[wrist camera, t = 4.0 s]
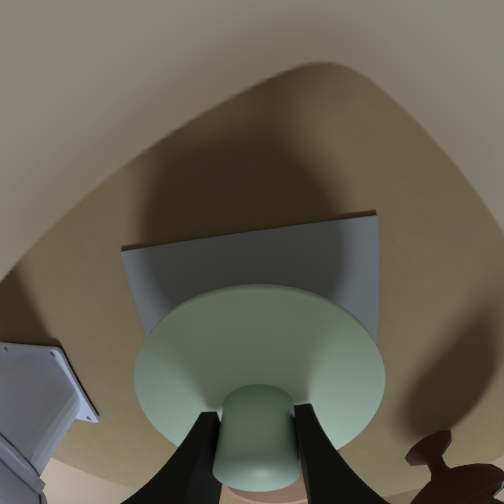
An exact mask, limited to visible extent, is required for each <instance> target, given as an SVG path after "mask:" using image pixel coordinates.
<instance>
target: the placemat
mask: <svg viewBox="0 0 504 504" xmlns="http://www.w3.org/2000/svg"><path fill="white" fill-rule="evenodd" d="M120 253H121V257H122V261H123V265H124V268H125V272H126V276H127V279H128V283H129V286H130V289H131V293H132V296H133V299H134V302H135V306H136V309H137V312H138V315H139V318H140V321H141V324H142V327H143V329H144V332H145V335H146V338H147V336H148V335H149V333H150V332H151V330H152V329H153V328H154V327H155V325H156V324H157V323H158V321H159V320H161V319H162V318H163V317H164V316H165V315H166V314H167V313H168V312H169V311H171V310H172V309H174V308H175V307H177V306H178V305H180V304H181V303H183V302H185V301H187V300H189V299H191V298H193V297H195V296H197V295H199V294H203V293H206V292H209V291H212V290H215V289H219V288H224V287H230V286H235V285H247V284H272V285H282V286H288V287H294V288H299V289H302V290H306V291H309V292H313V293H316V294H318V295H320V296H323V297H325V298H327V299H330V300H332V301H334V302H335V303H337V304H338V305H340V306H342V307H343V308H345V309H346V310H348V311H349V312H350V313H351V314H352V315H354V316H355V317H356V318H357V319H358V320H359V321H360V322H361V323H362V325H363V326H364V327H365V328H366V329H367V331H368V332H369V334H370V336H371V338H372V339H373V341H374V343H375V345H376V346H377V339H378V324H379V300H380V244H379V220H378V215H371V216H363V217H354V218H346V219H338V220H330V221H323V222H315V223H307V224H300V225H292V226H285V227H277V228H270V229H263V230H256V231H249V232H242V233H235V234H228V235H221V236H214V237H208V238H201V239H194V240H188V241H181V242H175V243H168V244H162V245H156V246H150V247H143V248H137V249H131V250H125V251H121V252H120Z"/></svg>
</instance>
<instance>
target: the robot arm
mask: <svg viewBox="0 0 504 504" xmlns="http://www.w3.org/2000/svg"><path fill="white" fill-rule="evenodd" d="M0 352H1V354H0V504H47V500H46V496H45V495H44V493H43V492H42V490H43V489H44V487H45V485H46V484H45V483H44V482H43V481H42V480H41V479H40V478H39V477H40V475H41V473H42V472H43V470H44V469H45V467H46V465H47V463H48V462H49V460H50V458H51V457H52V455H53V453H54V452H55V450H56V448H57V447H58V445H59V443H60V442H61V440H62V439H63V437H64V435H65V434H66V432H67V430H68V429H69V427H70V426H71V424H72V423H73V421H74V419H79V420H84V421H89V422H95V423H97V422H99V420H100V418H99V416H98V415H97V413H96V412H95V410H94V408H93V407H92V405H91V404H90V402H89V400H88V399H87V397H86V395H85V393H84V392H83V390H82V388H81V386H80V385H79V383H78V381H77V379H76V377H75V375H74V373H73V371H72V370H71V368H70V366H69V364H68V362H67V360H66V358H65V356H64V353H63V352H62V350H61V349H60V348H58V347H51V346H37V345H25V344H15V343H6V342H0ZM294 414H295V424H296V433H297V440H298V449H299V460H300V465H301V470H302V475H303V480H304V484H305V489H306V494H307V499H308V504H390V503H388V502H387V501H385V500H384V499H383V498H382V497H380V496H379V495H378V494H377V493H376V492H374V491H373V490H372V489H371V488H370V487H369V486H368V485H366V484H365V483H364V482H363V481H362V480H361V479H360V478H359V477H358V476H357V475H356V473H355V472H354V471H353V470H352V469H351V468H350V467H349V466H348V464H347V463H346V462H345V461H344V459H343V458H342V457H341V456H340V454H339V453H338V452H337V450H336V449H335V447H334V446H333V444H332V443H331V441H330V440H329V438H328V437H327V435H326V433H325V432H324V430H323V428H322V426H321V424H320V423H319V421H318V419H317V416H316V414H315V412H314V409H313V406H312V404H310V403H306V404H299V405H294ZM220 423H221V422H220V419H219V416H218V414H217V411H211V412H201V413H200V415H199V416H198V418H197V420H196V421H195V423H194V425H193V426H192V428H191V430H190V431H189V433H188V434H187V436H186V437H185V439H184V440H183V442H182V443H181V444H180V446H179V447H178V449H177V450H176V451H175V453H174V454H173V455H172V456H171V458H170V459H169V460H168V461H167V463H166V464H165V465H164V466H163V467H162V468H161V470H160V471H159V472H158V473H157V474H156V475H155V476H154V477H153V478H152V479H151V480H150V481H149V482H148V483H147V484H145V485H144V486H143V487H142V488H141V489H140V490H138V491H137V492H136V493H135V494H134V495H132V496H131V497H130V498H128V499H127V500H125V501H124V502H122V503H121V504H219V500H220V495H221V489H222V484H223V483H221V482H220V481H218V480H217V479H216V478H215V476H214V475H213V466H214V459H215V453H216V447H217V441H218V435H219V429H220Z"/></svg>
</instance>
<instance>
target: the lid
mask: <svg viewBox="0 0 504 504" xmlns="http://www.w3.org/2000/svg"><path fill="white" fill-rule="evenodd" d="M134 387H135V391H136V395H137V399H138V401H139V403H140V406H141V408H142V410H143V411H144V413H145V415H146V416H147V418H148V419H149V421H150V422H151V423H152V424H153V425H154V427H155V428H156V429H157V430H158V431H159V432H160V433H161V434H162V435H163V436H165V437H166V438H167V439H168V440H170V441H171V442H172V443H174V444H175V445H177V446H178V447H179V446H180V444H181V443H182V442H183V440H184V439H185V437H186V436H187V434H188V433H189V431H190V430H191V428H192V426H193V425H194V423H195V421H196V420H197V418H198V416H199V415H200V413H201V412H211V411H217V414H218V416H219V419H220V422H221V423H220V429H219V435H218V441H217V447H216V453H215V459H214V466H213V475H214V476H215V478H216V479H217V480H218V481H220V482H221V483H223V484H224V485H226V486H229V487H231V488H235V489H238V490H243V491H251V492H264V491H273V490H278V489H281V488H284V487H287V486H289V485H291V484H292V483H294V482H295V481H296V480H297V479H298V478H299V476H300V460H299V449H298V440H297V433H296V424H295V414H294V405H299V404H306V403H310V404H312V406H313V409H314V412H315V414H316V416H317V419H318V421H319V423H320V424H321V426H322V428H323V430H324V432H325V433H326V435H327V437H328V438H329V440H330V441H331V443H332V444H333V446H334V447H335V449H336V450H338V449H339V448H341V447H342V446H344V445H346V444H347V443H348V442H350V441H351V440H352V439H353V438H355V437H356V436H357V435H358V434H359V433H360V432H361V431H362V430H363V429H364V428H365V427H366V426H367V424H368V423H369V422H370V421H371V419H372V418H373V416H374V414H375V413H376V411H377V409H378V407H379V405H380V402H381V400H382V397H383V393H384V388H385V369H384V363H383V360H382V357H381V354H380V352H379V350H378V348H377V346H376V345H375V343H374V341H373V339H372V338H371V336H370V334H369V332H368V331H367V329H366V328H365V327H364V326H363V325H362V323H361V322H360V321H359V320H358V319H357V318H356V317H355V316H354V315H352V314H351V313H350V312H349V311H348V310H346V309H345V308H343V307H342V306H340V305H338V304H337V303H335V302H334V301H332V300H330V299H327V298H325V297H323V296H320V295H318V294H316V293H313V292H309V291H306V290H302V289H299V288H294V287H288V286H282V285H272V284H247V285H235V286H230V287H224V288H219V289H215V290H212V291H209V292H206V293H203V294H199V295H197V296H195V297H193V298H191V299H189V300H187V301H185V302H183V303H181V304H180V305H178V306H177V307H175V308H174V309H172V310H171V311H169V312H168V313H167V314H166V315H165V316H164V317H163V318H162V319H161V320H159V321H158V323H157V324H156V325H155V327H154V328H153V329H152V330H151V332H150V333H149V335H148V336H147V338H146V340H145V341H144V343H143V345H142V347H141V349H140V351H139V353H138V355H137V359H136V362H135V366H134Z"/></svg>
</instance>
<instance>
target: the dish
mask: <svg viewBox="0 0 504 504" xmlns="http://www.w3.org/2000/svg"><path fill="white" fill-rule="evenodd" d="M337 452H338V453H339V449H338V450H337ZM222 490H223V491H224V492H225V493H227V494H228V495H230V496H232V497H234V498H236V499H238V500H241V501H244V502H249V503H253V504H296V503H301V502H306V501H308V499H307V494H306V489H305V484H304V480H303V475H302V470H301V465H300V476H299V478H298V479H297V480H296V481H295V482H294V483H292V484H291V485H289V486H287V487H284V488H281V489H278V490H273V491H264V492H251V491H243V490H238V489H235V488H231V487H229V486H226V485H224V484H222Z"/></svg>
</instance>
